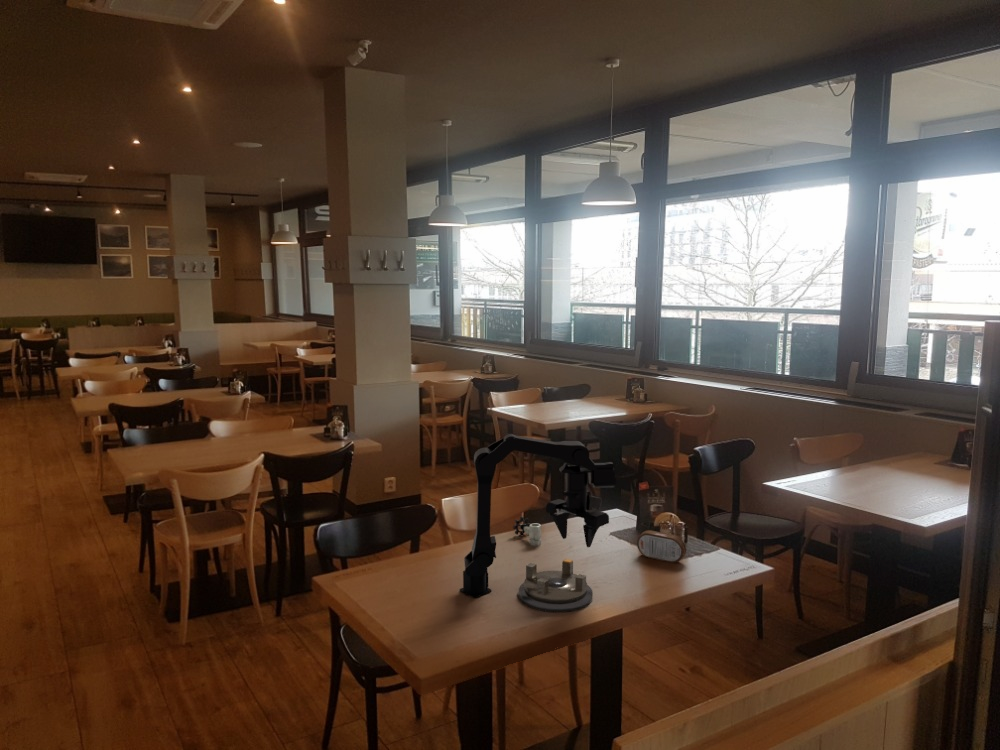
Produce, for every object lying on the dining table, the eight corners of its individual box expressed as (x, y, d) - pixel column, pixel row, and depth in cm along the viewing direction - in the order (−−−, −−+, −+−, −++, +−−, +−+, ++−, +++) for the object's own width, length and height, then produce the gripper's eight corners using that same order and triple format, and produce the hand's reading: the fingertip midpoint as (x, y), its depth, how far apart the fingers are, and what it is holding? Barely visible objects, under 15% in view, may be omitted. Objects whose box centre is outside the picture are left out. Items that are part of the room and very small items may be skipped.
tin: (686, 562, 212) (686, 536, 211) (682, 566, 209) (683, 539, 208) (639, 553, 220) (639, 527, 219) (635, 556, 217) (636, 530, 216)
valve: (547, 544, 228) (529, 533, 238) (547, 525, 227) (529, 515, 238) (529, 548, 225) (512, 536, 236) (529, 528, 224) (512, 517, 235)
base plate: (558, 619, 175) (558, 611, 175) (503, 595, 189) (503, 587, 189) (607, 596, 188) (607, 588, 188) (552, 574, 203) (552, 567, 203)
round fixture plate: (570, 609, 177) (570, 587, 176) (512, 594, 186) (512, 573, 185) (596, 585, 191) (597, 565, 191) (542, 572, 200) (542, 553, 200)
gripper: (622, 489, 189) (621, 544, 190) (571, 476, 203) (571, 527, 204) (595, 497, 181) (594, 554, 183) (544, 483, 195) (544, 536, 197)
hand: (576, 542), depth 192 cm, fingers open, 9 cm apart
